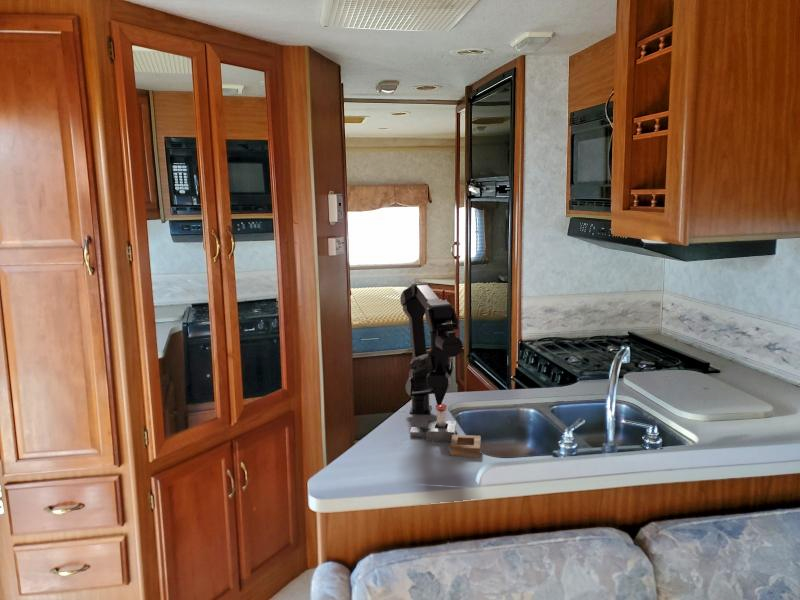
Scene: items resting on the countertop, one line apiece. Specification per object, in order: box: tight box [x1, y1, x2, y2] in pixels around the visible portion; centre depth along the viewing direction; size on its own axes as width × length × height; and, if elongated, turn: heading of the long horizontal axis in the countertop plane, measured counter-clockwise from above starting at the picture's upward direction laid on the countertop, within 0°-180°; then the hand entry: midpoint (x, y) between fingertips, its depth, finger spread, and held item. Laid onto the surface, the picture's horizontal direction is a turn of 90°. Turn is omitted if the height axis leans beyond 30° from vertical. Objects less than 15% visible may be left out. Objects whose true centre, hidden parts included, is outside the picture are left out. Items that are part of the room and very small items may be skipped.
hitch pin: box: [435, 403, 448, 429], centre depth 176 cm, size 3×3×9 cm
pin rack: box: [449, 434, 482, 458], centre depth 168 cm, size 8×8×2 cm
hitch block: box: [409, 419, 457, 443], centre depth 177 cm, size 8×13×3 cm, turn 81°
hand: (440, 398), depth 175 cm, fingers open, 9 cm apart
